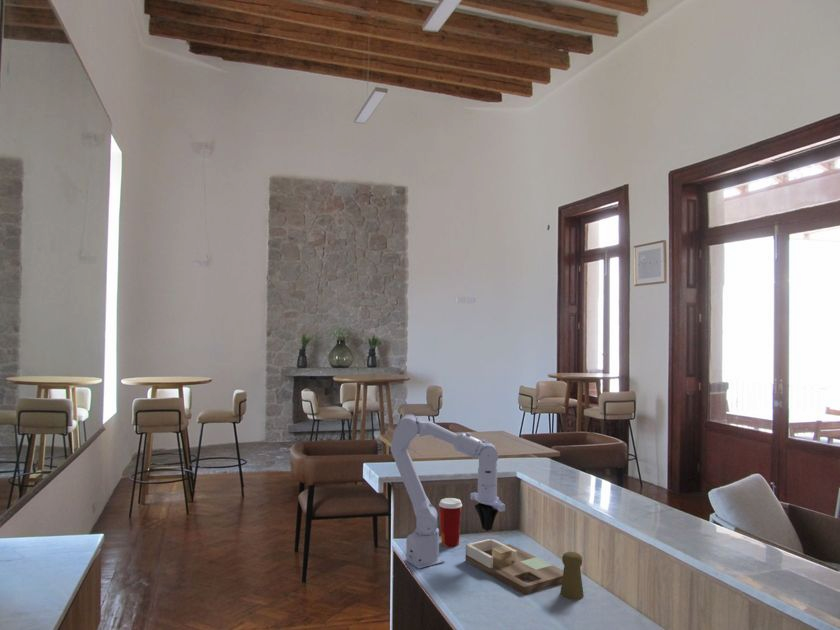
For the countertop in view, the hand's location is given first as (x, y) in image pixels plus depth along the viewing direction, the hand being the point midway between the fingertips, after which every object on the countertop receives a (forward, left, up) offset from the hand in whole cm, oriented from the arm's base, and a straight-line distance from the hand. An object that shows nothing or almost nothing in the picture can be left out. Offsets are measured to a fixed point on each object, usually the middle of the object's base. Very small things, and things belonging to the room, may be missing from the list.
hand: (487, 529), depth 187 cm
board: (+4, -9, -10) cm, 14 cm away
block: (0, -7, -8) cm, 11 cm away
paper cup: (-1, +18, -10) cm, 21 cm away
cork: (+6, -29, -10) cm, 31 cm away
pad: (+9, -12, -10) cm, 18 cm away
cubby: (0, -2, -8) cm, 8 cm away
